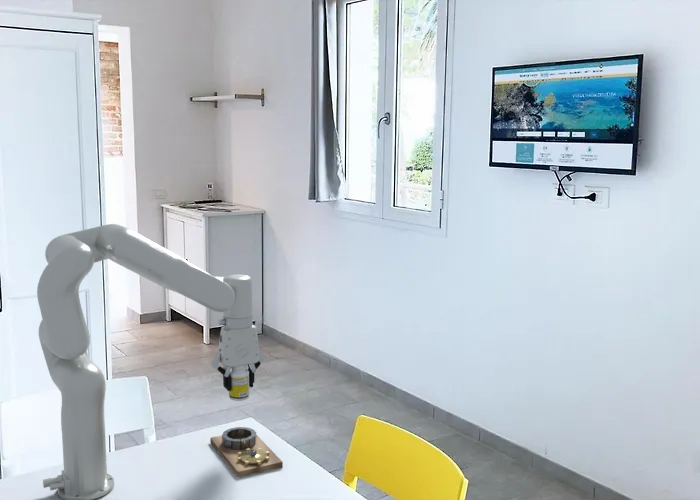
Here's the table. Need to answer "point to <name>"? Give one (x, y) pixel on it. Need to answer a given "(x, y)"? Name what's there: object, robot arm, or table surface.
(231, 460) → the gear board
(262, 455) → the brass gear
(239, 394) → the supplement bottle
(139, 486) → the table surface
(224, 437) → the socket ring
